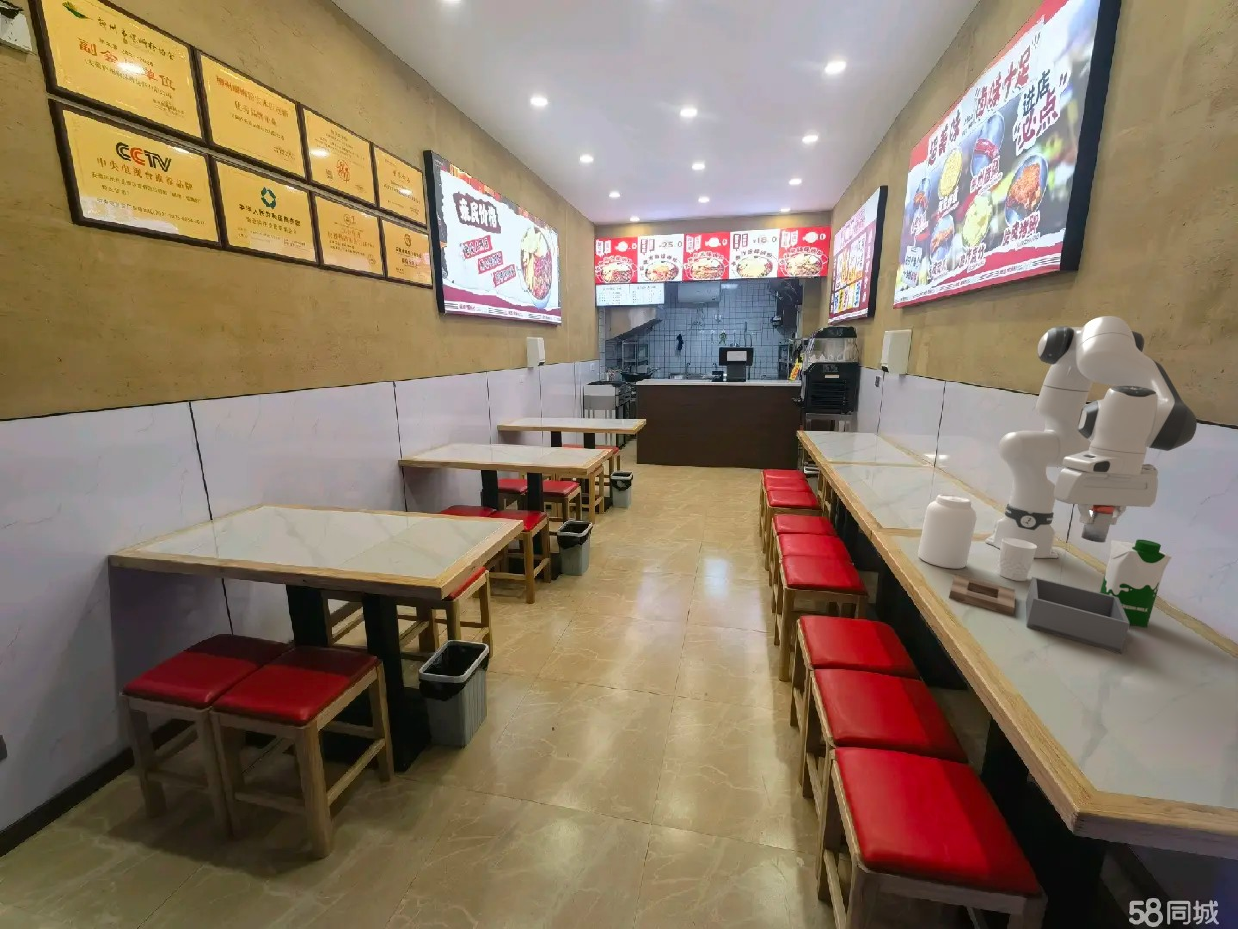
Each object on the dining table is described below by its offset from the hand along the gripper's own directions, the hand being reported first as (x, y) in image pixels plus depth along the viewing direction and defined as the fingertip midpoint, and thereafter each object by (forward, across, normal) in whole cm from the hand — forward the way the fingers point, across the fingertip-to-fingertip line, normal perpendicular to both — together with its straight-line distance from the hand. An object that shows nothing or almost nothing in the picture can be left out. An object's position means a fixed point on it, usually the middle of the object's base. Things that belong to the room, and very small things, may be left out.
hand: (1097, 523), depth 113 cm
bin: (+25, 0, 0) cm, 25 cm away
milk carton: (+25, -18, -5) cm, 31 cm away
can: (+25, +6, -36) cm, 45 cm away
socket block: (+25, +11, -13) cm, 30 cm away
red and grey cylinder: (+4, 0, 0) cm, 4 cm away
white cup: (+25, -8, -27) cm, 38 cm away
